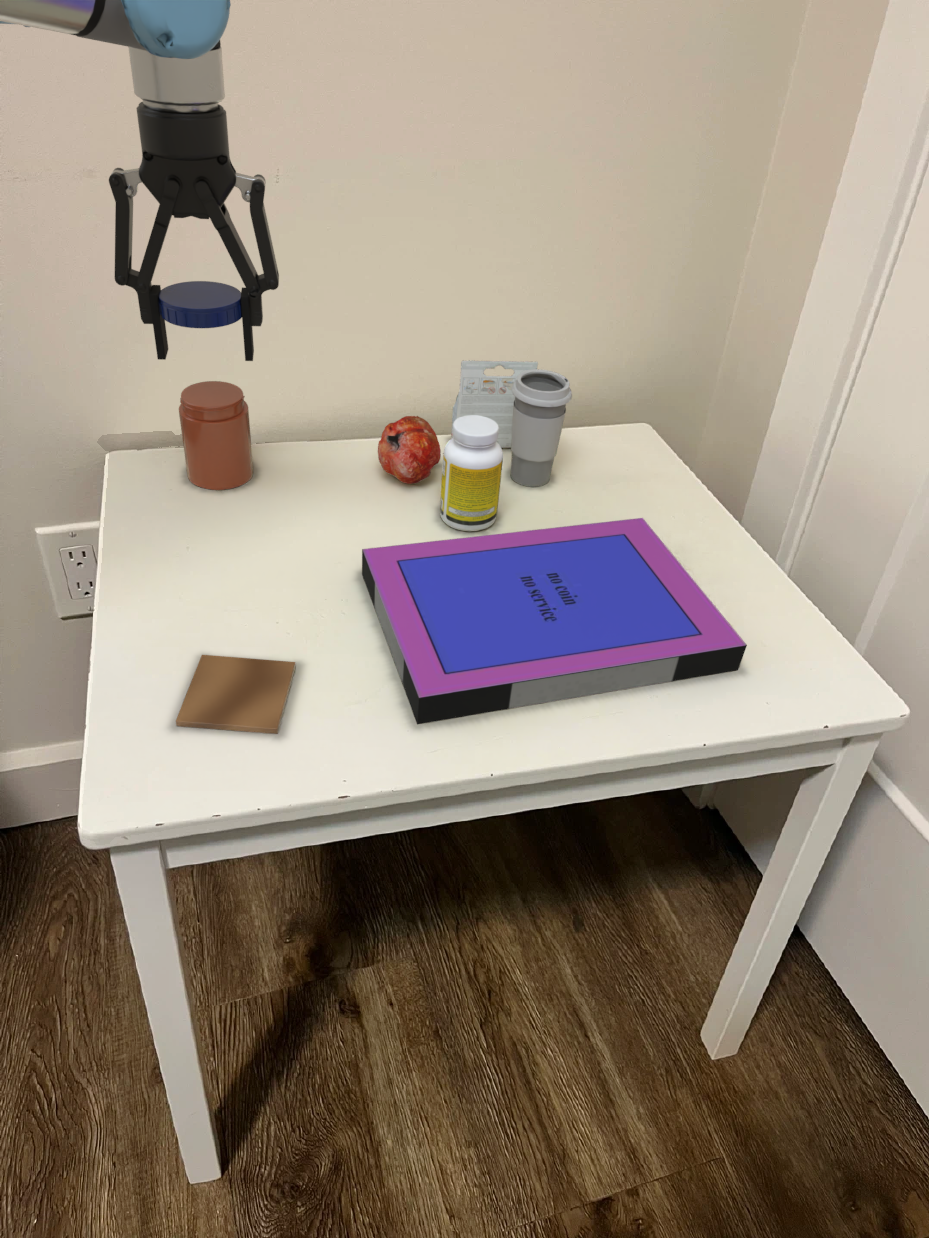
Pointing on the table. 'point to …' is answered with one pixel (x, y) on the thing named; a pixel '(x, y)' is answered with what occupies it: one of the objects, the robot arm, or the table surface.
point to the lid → (200, 304)
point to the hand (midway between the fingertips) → (206, 354)
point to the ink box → (489, 394)
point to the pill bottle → (471, 474)
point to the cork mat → (237, 694)
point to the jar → (216, 435)
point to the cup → (537, 424)
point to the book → (542, 617)
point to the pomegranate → (409, 449)
